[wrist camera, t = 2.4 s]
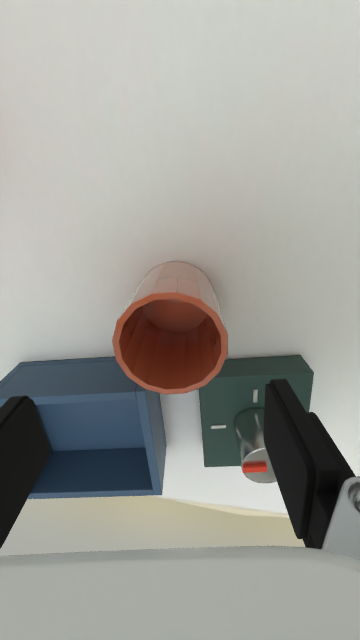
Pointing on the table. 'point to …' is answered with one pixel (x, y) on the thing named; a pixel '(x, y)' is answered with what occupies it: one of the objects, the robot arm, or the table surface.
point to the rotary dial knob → (253, 446)
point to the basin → (93, 428)
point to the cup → (172, 331)
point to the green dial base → (244, 399)
